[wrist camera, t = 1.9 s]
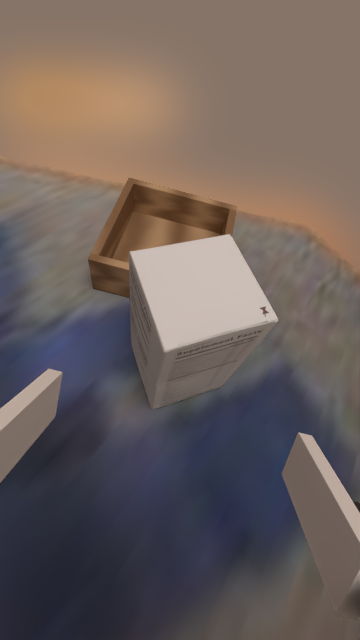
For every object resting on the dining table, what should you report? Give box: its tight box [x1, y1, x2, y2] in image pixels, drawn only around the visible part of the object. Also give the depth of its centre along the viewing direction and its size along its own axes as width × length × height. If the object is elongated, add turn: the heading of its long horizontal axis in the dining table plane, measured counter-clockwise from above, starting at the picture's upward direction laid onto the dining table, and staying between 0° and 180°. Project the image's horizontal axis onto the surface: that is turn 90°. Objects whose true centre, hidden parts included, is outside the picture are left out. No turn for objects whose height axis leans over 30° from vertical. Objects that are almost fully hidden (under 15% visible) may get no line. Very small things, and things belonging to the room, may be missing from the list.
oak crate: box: [88, 178, 237, 298], centre depth 42 cm, size 17×17×6 cm
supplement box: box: [129, 234, 278, 409], centre depth 30 cm, size 10×9×17 cm
